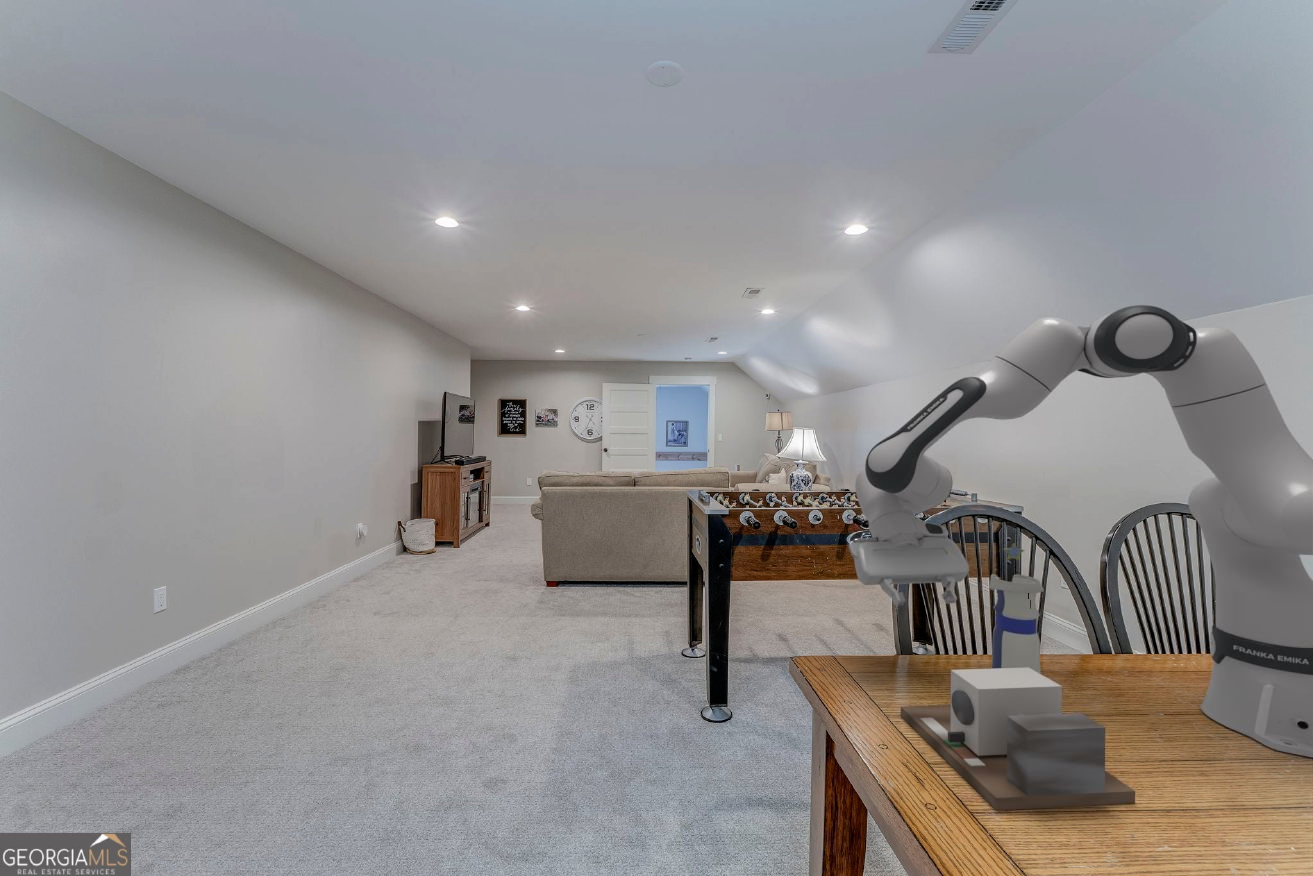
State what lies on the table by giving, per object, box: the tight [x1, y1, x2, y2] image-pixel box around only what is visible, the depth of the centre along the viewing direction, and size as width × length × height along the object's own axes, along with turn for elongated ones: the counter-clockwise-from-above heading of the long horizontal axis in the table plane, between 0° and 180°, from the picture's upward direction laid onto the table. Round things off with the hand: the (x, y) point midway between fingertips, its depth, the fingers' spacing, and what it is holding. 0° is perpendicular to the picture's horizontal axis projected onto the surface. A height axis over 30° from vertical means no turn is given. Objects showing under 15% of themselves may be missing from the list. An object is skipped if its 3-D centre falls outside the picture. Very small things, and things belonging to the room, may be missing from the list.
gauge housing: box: [948, 667, 1063, 756], centre depth 75 cm, size 8×14×9 cm, turn 94°
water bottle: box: [988, 543, 1045, 675], centre depth 99 cm, size 8×9×25 cm
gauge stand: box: [900, 704, 1136, 811], centre depth 77 cm, size 22×18×10 cm
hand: (926, 603), depth 96 cm, fingers open, 8 cm apart
